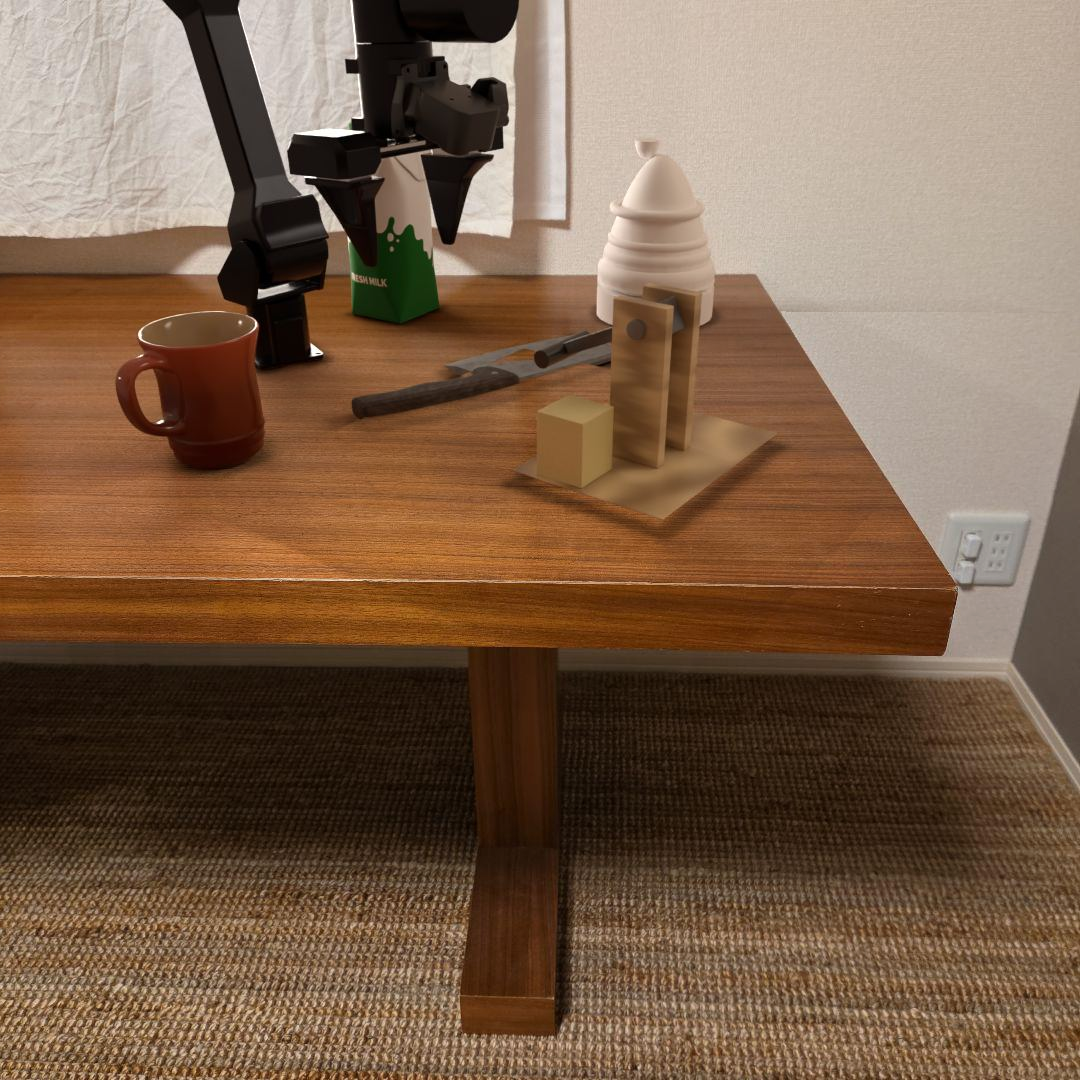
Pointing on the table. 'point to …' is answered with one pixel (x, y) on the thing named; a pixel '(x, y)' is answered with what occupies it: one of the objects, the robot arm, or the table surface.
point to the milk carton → (398, 247)
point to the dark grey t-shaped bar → (591, 340)
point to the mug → (200, 387)
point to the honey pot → (656, 237)
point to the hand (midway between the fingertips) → (411, 255)
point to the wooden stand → (660, 411)
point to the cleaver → (473, 379)
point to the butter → (574, 440)
